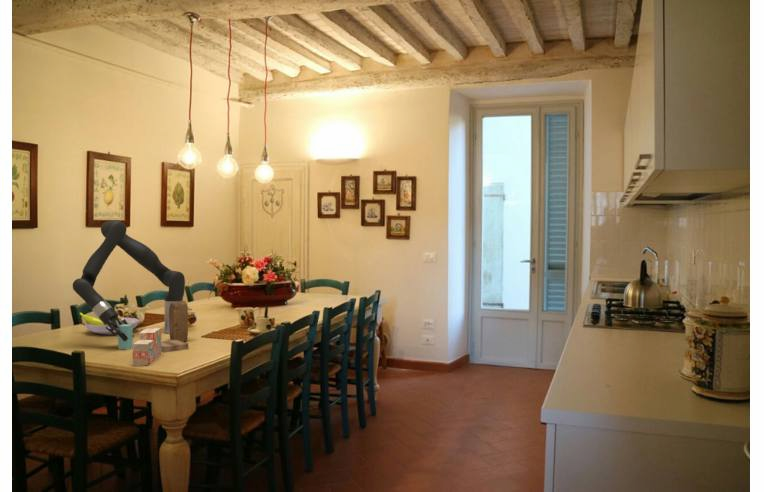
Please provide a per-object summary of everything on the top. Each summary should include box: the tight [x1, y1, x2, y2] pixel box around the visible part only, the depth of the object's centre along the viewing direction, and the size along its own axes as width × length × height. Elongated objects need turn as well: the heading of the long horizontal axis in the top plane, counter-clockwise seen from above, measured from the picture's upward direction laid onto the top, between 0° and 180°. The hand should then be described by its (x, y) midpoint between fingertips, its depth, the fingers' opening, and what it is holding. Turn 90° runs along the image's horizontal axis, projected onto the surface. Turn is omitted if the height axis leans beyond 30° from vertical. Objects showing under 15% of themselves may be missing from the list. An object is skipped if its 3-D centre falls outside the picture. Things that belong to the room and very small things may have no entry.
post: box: [117, 324, 134, 351], centre depth 267 cm, size 4×4×11 cm
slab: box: [161, 340, 189, 353], centre depth 270 cm, size 12×12×3 cm
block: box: [169, 300, 189, 343], centre depth 286 cm, size 11×8×20 cm
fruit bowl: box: [78, 312, 140, 336], centre depth 305 cm, size 28×27×11 cm
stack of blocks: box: [132, 327, 162, 367], centre depth 247 cm, size 21×6×12 cm, turn 7°
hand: (129, 338), depth 267 cm, fingers closed on post, 4 cm apart
